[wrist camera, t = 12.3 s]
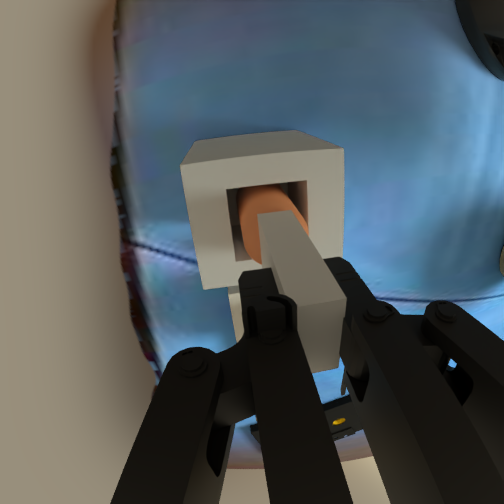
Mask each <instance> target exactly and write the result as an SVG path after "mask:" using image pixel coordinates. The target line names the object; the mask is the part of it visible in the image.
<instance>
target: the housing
mask: <svg viewBox="0 0 504 504" xmlns="http://www.w3.org/2000/svg"><path fill="white" fill-rule="evenodd" d="M180 170H181V176H182V182H183V187H184V193H185V199H186V204H187V210H188V215H189V221H190V226H191V231H192V236H193V242H194V247H195V252H196V257H197V261H198V266H199V271H200V276H201V281H202V285H203V290H205V289H213V288H221V287H228V286H236V285H239V284H238V279H239V277H240V276H241V274H242V272H243V271H249V270H256V269H262V265H261V264H259V263H257V262H256V261H254V260H253V259H252V258H251V257H250V256H249V255H248V253H247V251H246V249H245V246H244V241H243V236H242V230H241V225H240V220H239V214H238V209H237V203H236V194H237V191H238V188H240V187H248V186H257V185H265V184H274V183H279V185H280V186H281V187H282V189H283V190H284V192H285V193H286V194H287V196H288V197H289V198H290V200H291V201H292V203H293V204H294V205H295V207H296V208H297V210H298V211H299V212H300V214H301V215H302V217H303V218H304V220H305V221H306V223H307V226H308V230H309V238H310V240H311V241H312V243H313V244H314V246H315V247H316V249H317V251H318V252H319V254H320V255H321V257H322V259H326V258H332V257H341V258H342V256H343V232H344V148H341V147H339V146H337V145H334V144H332V143H329V142H327V141H324V140H322V139H319V138H316V137H314V136H311V135H309V134H306V133H303V132H300V131H298V130H288V131H275V132H263V133H253V134H244V135H235V136H227V137H219V138H212V139H205V140H198V141H195V142H194V143H193V145H192V147H191V148H190V150H189V151H188V153H187V155H186V156H185V158H184V159H183V161H182V163H181V164H180Z"/></svg>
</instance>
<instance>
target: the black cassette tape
mask: <svg viewBox="0 0 504 504" xmlns="http://www.w3.org/2000/svg"><path fill="white" fill-rule="evenodd" d="M336 402H337V403H336ZM322 406H323V409H324V412H325V415H326V418H327V421H328V424H329V428H330V431H331V434H332V437H333V440H334V441H336V440H339V439H341V438H344V436H345V435H347V436H350V435H353V434H355V432H357V431H359V430H362V429H363V427H362V425H361V422H360V420H359V417H358V415H357V412H356V409H355V407H354V404H353V402H352V399H351V397H350V395H348V396H345V397H342V398H340V399H337V400H334V401H331V402H328V403H325V404H323V405H322ZM250 428H251V434H252V435H253V436H254V437H255V439H256V440H257V441H258V442H259V444H260V445H261V443H260V437H259V430H258V424H254V425H251V426H250ZM347 436H346V437H347ZM336 437H337V438H336Z"/></svg>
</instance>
